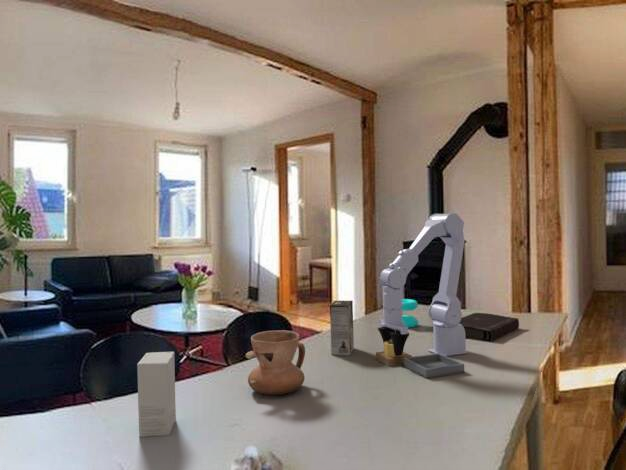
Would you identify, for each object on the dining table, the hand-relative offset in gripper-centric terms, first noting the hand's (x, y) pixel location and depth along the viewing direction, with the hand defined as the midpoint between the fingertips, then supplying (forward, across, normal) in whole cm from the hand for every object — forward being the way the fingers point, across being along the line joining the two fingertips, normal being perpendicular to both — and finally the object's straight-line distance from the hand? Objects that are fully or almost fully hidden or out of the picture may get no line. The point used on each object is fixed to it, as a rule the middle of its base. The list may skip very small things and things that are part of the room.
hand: (393, 352), depth 152 cm
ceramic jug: (+3, +10, -39) cm, 40 cm away
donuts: (+3, -40, +27) cm, 48 cm away
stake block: (+2, 0, 0) cm, 2 cm away
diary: (+3, -19, +47) cm, 51 cm away
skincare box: (+3, +23, -69) cm, 73 cm away
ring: (0, 0, 0) cm, 0 cm away
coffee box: (+3, -16, -10) cm, 19 cm away
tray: (+2, +12, +6) cm, 14 cm away
